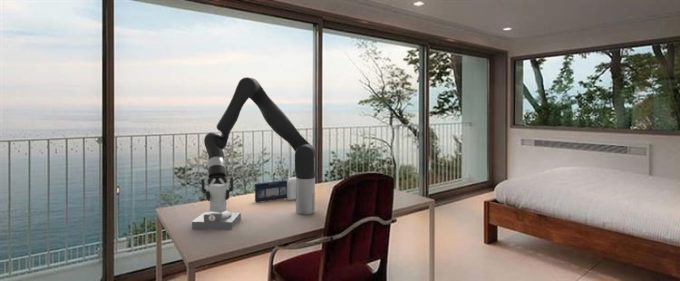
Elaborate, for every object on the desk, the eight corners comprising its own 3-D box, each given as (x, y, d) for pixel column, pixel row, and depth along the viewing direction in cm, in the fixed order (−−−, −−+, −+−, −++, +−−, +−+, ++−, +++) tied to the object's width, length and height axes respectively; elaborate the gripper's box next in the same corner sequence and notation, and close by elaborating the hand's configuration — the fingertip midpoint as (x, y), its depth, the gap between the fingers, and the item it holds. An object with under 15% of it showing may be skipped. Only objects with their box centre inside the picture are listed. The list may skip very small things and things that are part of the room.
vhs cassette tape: (256, 202, 204) (256, 184, 203) (254, 201, 207) (254, 183, 206) (288, 198, 213) (288, 181, 212) (286, 197, 216) (286, 180, 215)
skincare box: (226, 210, 170) (226, 184, 169) (220, 213, 166) (220, 186, 165) (215, 209, 173) (215, 183, 171) (209, 211, 169) (208, 185, 167)
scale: (240, 219, 175) (240, 206, 175) (231, 229, 161) (231, 215, 161) (204, 218, 175) (203, 205, 175) (192, 228, 162) (191, 214, 161)
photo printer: (302, 196, 217) (302, 175, 216) (305, 198, 214) (305, 176, 213) (285, 199, 212) (285, 177, 210) (289, 200, 208) (289, 178, 207)
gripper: (200, 164, 172) (200, 196, 162) (233, 163, 177) (235, 194, 167) (200, 174, 178) (201, 205, 168) (232, 172, 182) (234, 202, 173)
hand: (218, 199), depth 167 cm, fingers closed on skincare box, 7 cm apart
